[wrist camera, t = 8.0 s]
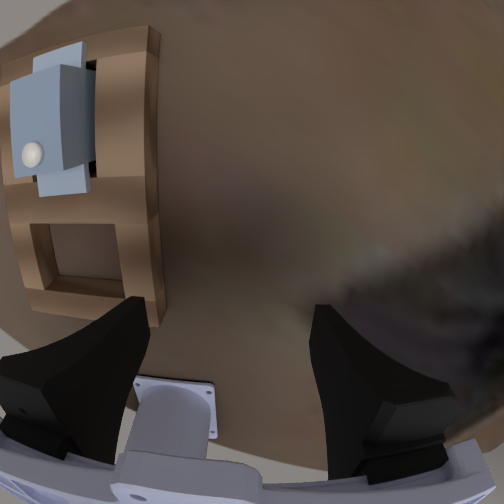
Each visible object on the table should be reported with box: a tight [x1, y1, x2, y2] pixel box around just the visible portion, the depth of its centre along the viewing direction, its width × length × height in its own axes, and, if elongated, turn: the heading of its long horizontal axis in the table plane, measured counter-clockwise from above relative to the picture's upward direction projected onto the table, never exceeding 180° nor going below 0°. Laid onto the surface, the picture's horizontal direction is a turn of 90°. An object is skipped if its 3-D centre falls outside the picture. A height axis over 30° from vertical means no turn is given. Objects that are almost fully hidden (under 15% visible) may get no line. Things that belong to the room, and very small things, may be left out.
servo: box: [10, 41, 96, 197], centre depth 15 cm, size 4×10×6 cm, turn 0°
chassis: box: [0, 25, 167, 327], centre depth 19 cm, size 20×12×2 cm, turn 178°
